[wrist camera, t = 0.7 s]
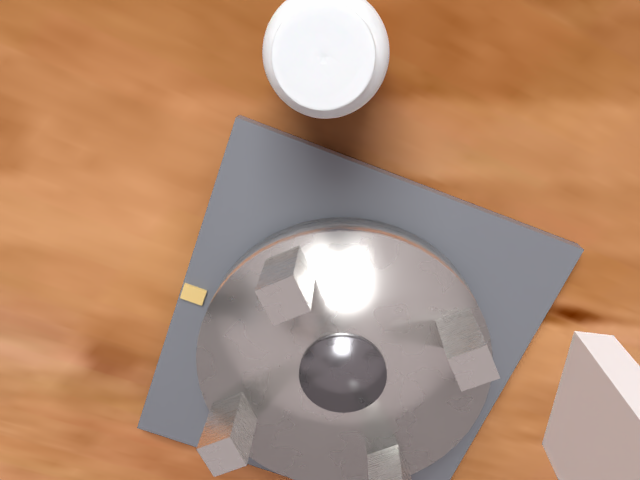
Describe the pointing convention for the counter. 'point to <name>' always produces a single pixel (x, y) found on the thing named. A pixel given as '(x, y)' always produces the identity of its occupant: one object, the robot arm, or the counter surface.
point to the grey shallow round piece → (341, 355)
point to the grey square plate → (356, 202)
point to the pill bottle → (325, 55)
